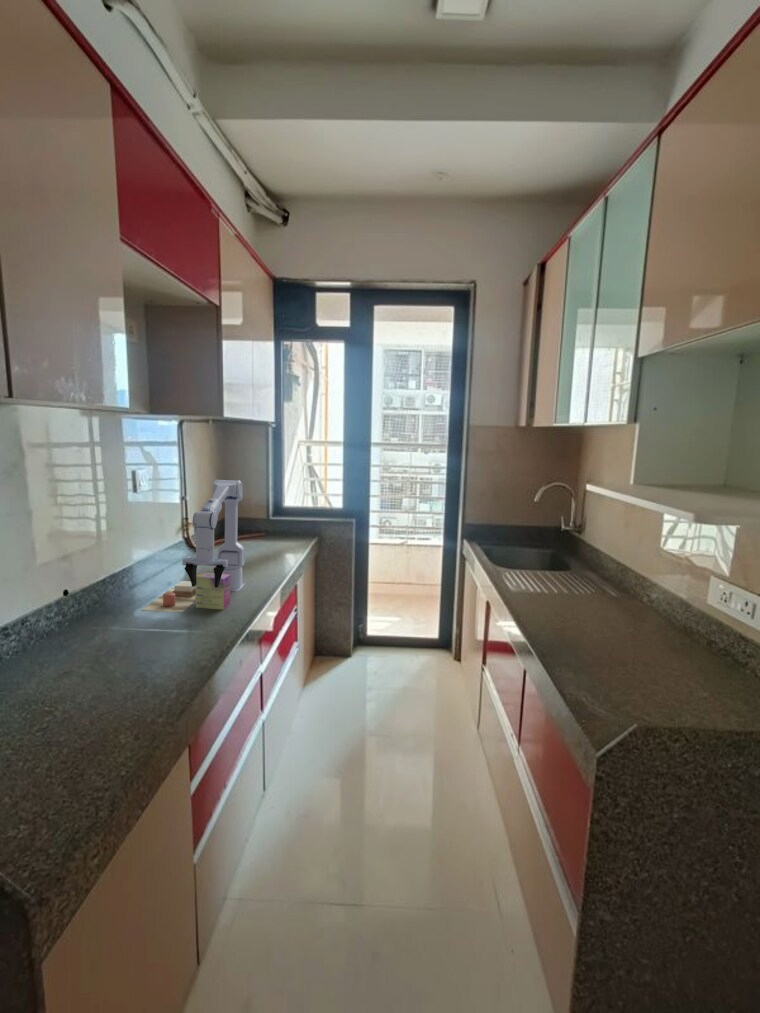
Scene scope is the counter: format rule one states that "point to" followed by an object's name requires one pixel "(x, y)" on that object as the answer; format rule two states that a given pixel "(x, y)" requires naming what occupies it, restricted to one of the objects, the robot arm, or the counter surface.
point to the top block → (184, 586)
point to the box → (212, 591)
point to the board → (180, 606)
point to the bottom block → (184, 593)
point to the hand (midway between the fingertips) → (205, 586)
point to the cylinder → (169, 599)
